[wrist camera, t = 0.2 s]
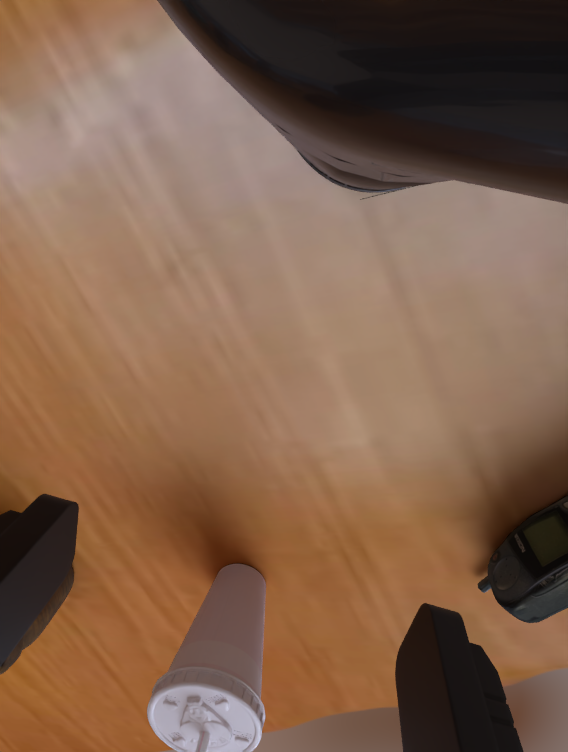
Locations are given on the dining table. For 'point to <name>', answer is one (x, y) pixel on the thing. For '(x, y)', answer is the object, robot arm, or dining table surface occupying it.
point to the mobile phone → (533, 566)
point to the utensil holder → (41, 620)
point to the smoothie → (217, 671)
